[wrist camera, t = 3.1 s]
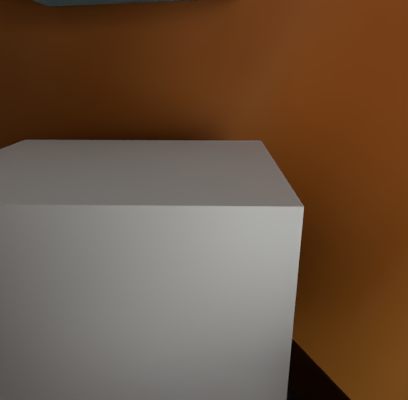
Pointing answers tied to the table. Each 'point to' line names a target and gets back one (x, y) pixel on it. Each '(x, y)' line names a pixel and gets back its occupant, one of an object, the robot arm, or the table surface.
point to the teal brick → (94, 2)
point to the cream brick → (146, 270)
